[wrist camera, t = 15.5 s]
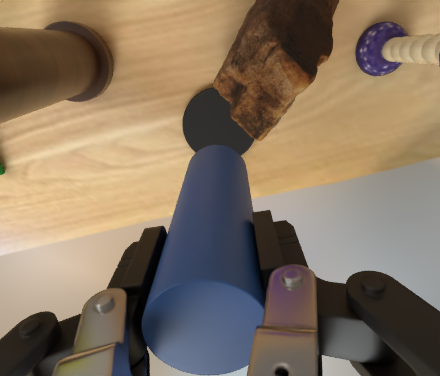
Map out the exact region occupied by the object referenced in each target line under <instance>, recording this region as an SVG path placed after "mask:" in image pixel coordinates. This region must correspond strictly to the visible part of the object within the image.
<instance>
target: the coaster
mask: <svg viewBox="0 0 440 376" xmlns="http://www.w3.org/2000/svg"><path fill="white" fill-rule="evenodd" d="M183 132H184V135H185V138H186V140H187V142H188V144H189V145H190V147H191V148H192V149H193V150H194V151H195V152H198V151H199V150H200V149H202V148H204V147H207V146H210V145H223V146H227V147H229V148H232V149H233V150H235V151H236V152H237V153H238V154H239V155H240V156H241V155H242V154H243V153H245V152H246V151H247V150H248V149H249V147H250V146H251V145H252V143H253V141H254V138H252V137H251V136H250V135H249V134H248V133H247V132H246V131H245V130H244V129H243V128H242V127H241V126H240V125H238V123H237V122H236V121H234V120H233V119H232V118H231V104H230V102H229V101H228V100H226V99H225V98H224V97H222V96H221V95H220V93H219V91H218V90H217V89H215V88H214V87H213V88H209V89H206V90H204V91H202V92H200V93H199V94H197V95H196V96H195V97H194V98H193V99H192V100H191V101H190V103H189V104H188V106H187V108H186V110H185V113H184V117H183Z"/></svg>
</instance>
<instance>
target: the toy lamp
mask: <svg viewBox="0 0 440 376" xmlns="http://www.w3.org/2000/svg"><path fill="white" fill-rule="evenodd" d="M356 61H357V63H358V65H359V67H360V68H361V70H362V71H363V72H365V73H367V74H369V75H372V76H381V75H386V74H388V73H391V72H393V71H394V70H395V69H397V68H398V67H399V66H400V65H401V64H402V63H403V62H407V63H418V64H428V63H429V64H433V65H440V34H436V35H433V34H426V35H423V36H422V35H414V36H411V37H410V36H408V35H407V33H406V31H405V30H404V29H403V28H402V27H401V26H399V25H398V24H396V23H393V22H381V23H377V24H375V25H373V26H371V27H370V28H368V29H367V30H366V31H365V32H364V33H363V35H362V36H361V37H360V39H359V41H358V43H357V46H356Z"/></svg>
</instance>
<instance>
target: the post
mask: <svg viewBox="0 0 440 376" xmlns="http://www.w3.org/2000/svg"><path fill="white" fill-rule="evenodd" d="M112 75H113V60H112V56H111V53H110V50H109V48H108V46H107V45H106V43H105V41H104V40H103V39H102V38H101V36H100V35H99V34H98V33H96V32H95V31H94V30H93V29H91V28H89V27H88V26H85V25H83V24H80V23H75V22H67V21H62V22H56V23H53V24H51V25H48V26H47V27H46V28H44V29H43V30H42V29H25V28H8V27H0V123H3V122H6V121H8V120H11V119H14V118H17V117H19V116H22V115H25V114H28V113H30V112H33V111H36V110H38V109H41V108H44V107H47V106H49V105H52V104H55V103H58V102H60V101H63V100H69V101H74V102H83V101H87V100H90V99H93V98H95V97H97V96H99V95H100V94H102V93H103V92H104V91H105V90H106V89H107V87H108V86H109V84H110V82H111V79H112Z"/></svg>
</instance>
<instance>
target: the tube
mask: <svg viewBox="0 0 440 376" xmlns="http://www.w3.org/2000/svg"><path fill="white" fill-rule="evenodd" d="M252 213H253V207H252V201H251V194H250V188H249V182H248V175H247V169H246V165H245V162H244V160H243V158H242V157H241V156H240V155H239V154H238V153H237V152H236V151H235V150H233V149H232V148H229V147H227V146H223V145H210V146H207V147H204V148H202V149H200V150H199V151H198V152H196V153H195V154H194V156H193V157H192V158H191V160H190V162H189V165H188V168H187V172H186V175H185V178H184V182H183V185H182V188H181V191H180V195H179V198H178V201H177V205H176V208H175V211H174V214H173V218H172V221H171V224H170V228H169V231H168V234H167V237H166V241H165V244H164V247H163V251H162V254H161V257H160V260H159V264H158V267H157V270H156V274H155V277H154V280H153V283H152V287H151V290H150V293H149V297H148V300H147V303H146V306H145V310H144V313H143V317H142V333H143V337H144V340H145V342H146V344H147V346H148V347H149V349H150V350H151V351H152V352H153V354H154V355H155V356H156V357H158V358H159V359H160V360H161V361H163V362H164V363H166V364H168V365H169V366H171V367H173V368H175V369H178V370H180V371H183V372H187V373H191V374H197V375H220V374H226V373H230V372H234V371H236V370H239V369H241V368H243V367H246V366H247V365H249V360H250V355H251V349H252V344H253V338H254V333H255V329H256V326H257V325H262V320H263V314H264V308H265V302H266V294H265V291H264V289H263V282H262V276H261V270H260V263H259V256H258V250H257V243H256V236H255V229H254V223H253V216H252Z"/></svg>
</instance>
